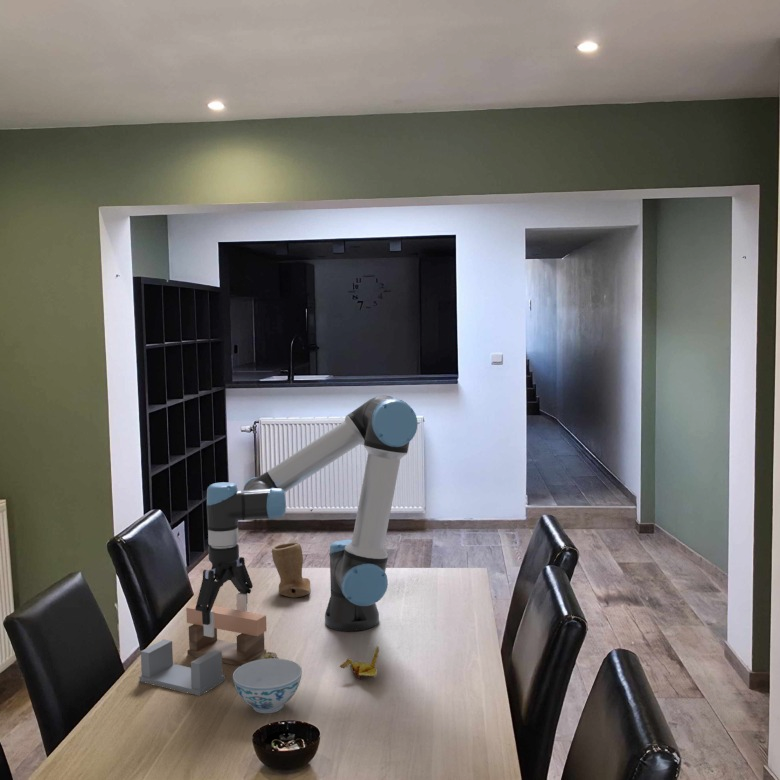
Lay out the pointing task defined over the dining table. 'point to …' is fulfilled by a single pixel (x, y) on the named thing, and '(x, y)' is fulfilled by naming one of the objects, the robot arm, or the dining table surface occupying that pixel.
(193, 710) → the dining table surface
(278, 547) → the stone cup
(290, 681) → the chinaware
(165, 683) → the stand
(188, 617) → the salmon pink square bar
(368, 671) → the origami crane
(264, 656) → the mineral rock
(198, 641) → the bronze cradle base
